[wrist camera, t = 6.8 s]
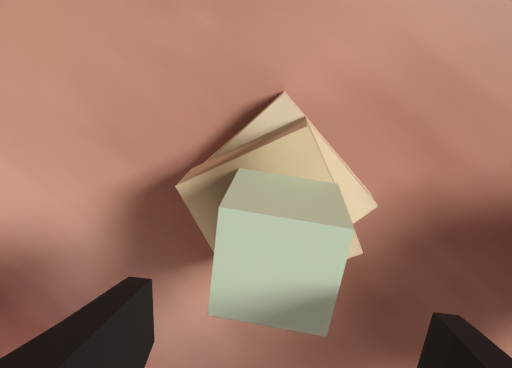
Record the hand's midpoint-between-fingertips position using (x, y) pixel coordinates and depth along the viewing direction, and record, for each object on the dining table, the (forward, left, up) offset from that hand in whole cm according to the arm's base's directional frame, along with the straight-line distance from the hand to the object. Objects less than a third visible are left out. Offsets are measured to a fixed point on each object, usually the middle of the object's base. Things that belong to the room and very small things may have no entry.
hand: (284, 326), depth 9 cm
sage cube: (0, 0, -6) cm, 6 cm away
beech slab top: (+1, -1, -8) cm, 9 cm away
